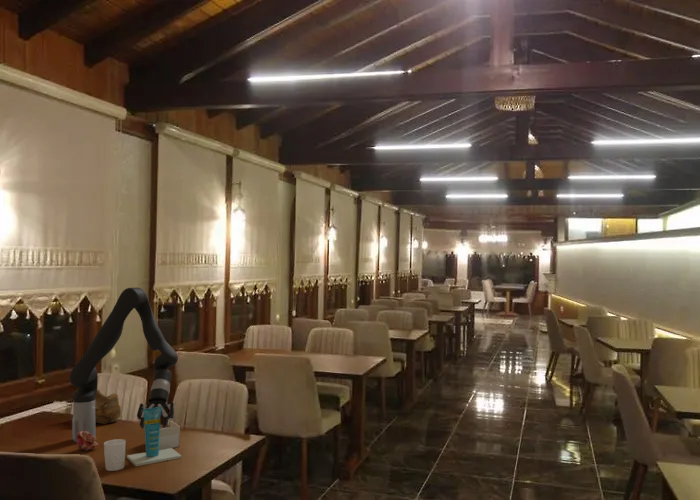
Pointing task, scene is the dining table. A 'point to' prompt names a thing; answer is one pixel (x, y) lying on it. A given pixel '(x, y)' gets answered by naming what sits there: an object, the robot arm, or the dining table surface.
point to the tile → (163, 456)
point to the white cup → (114, 454)
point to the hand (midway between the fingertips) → (153, 427)
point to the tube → (152, 430)
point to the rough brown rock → (106, 408)
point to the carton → (169, 436)
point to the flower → (86, 440)
